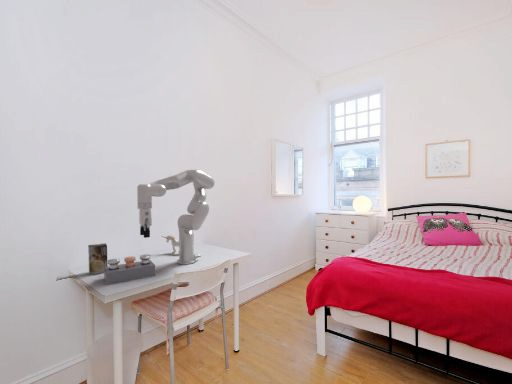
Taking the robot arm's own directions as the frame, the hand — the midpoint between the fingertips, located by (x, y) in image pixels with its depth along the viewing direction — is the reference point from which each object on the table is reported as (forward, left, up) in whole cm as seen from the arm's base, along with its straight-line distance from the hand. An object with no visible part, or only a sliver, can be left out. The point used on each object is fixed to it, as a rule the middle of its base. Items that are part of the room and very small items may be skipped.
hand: (144, 236), depth 149 cm
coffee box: (+22, -18, -22) cm, 36 cm away
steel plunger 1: (+16, 0, -17) cm, 24 cm away
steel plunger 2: (0, 0, -17) cm, 17 cm away
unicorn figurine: (-28, -33, -22) cm, 48 cm away
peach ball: (+8, 0, -17) cm, 19 cm away
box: (+8, 0, -22) cm, 23 cm away
